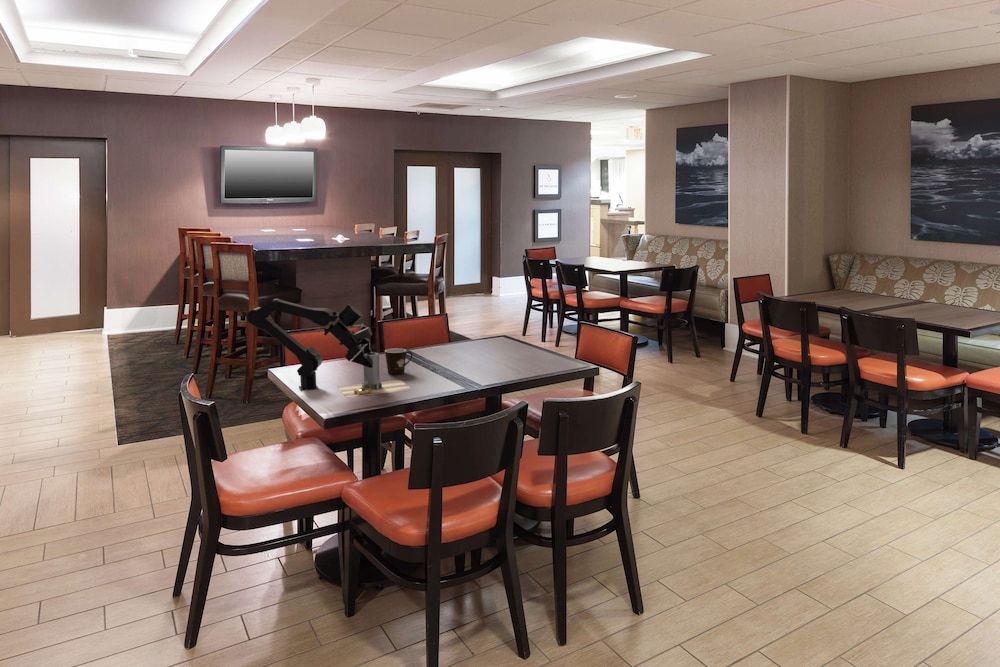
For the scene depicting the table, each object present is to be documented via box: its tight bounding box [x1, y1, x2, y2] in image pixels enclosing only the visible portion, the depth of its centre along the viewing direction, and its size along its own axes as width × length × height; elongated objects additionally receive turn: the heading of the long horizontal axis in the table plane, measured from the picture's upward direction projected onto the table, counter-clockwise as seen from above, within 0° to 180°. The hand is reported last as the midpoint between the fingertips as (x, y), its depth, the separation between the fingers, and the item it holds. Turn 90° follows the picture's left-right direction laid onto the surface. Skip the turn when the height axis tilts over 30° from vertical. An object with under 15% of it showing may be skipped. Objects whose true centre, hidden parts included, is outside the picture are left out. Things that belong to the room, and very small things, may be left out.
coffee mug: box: [384, 348, 413, 376], centre depth 304 cm, size 12×9×10 cm
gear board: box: [337, 379, 413, 398], centre depth 281 cm, size 16×25×1 cm, turn 114°
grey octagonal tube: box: [361, 351, 382, 390], centre depth 281 cm, size 7×7×13 cm
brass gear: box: [354, 387, 372, 396], centre depth 275 cm, size 7×7×2 cm
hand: (374, 364), depth 280 cm, fingers open, 9 cm apart
